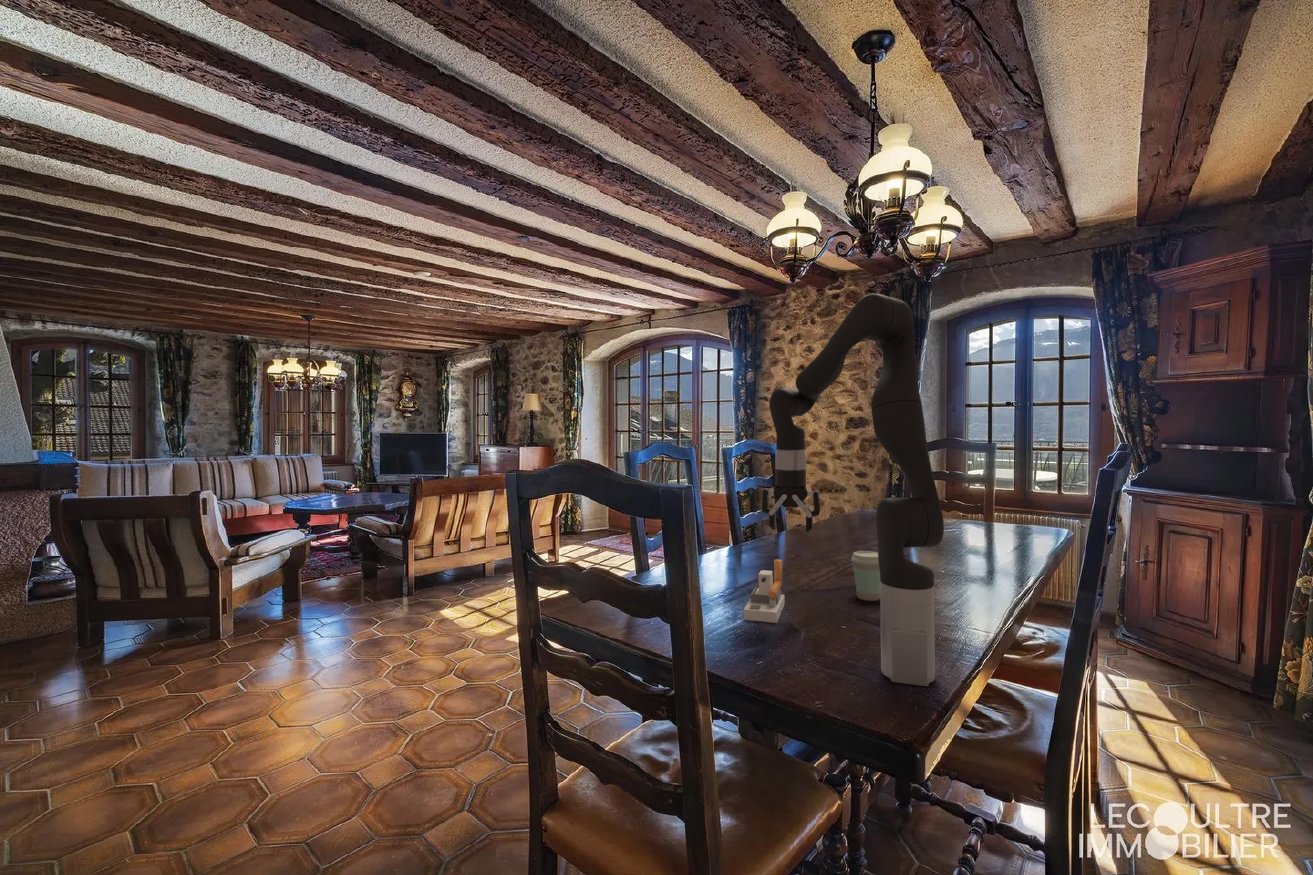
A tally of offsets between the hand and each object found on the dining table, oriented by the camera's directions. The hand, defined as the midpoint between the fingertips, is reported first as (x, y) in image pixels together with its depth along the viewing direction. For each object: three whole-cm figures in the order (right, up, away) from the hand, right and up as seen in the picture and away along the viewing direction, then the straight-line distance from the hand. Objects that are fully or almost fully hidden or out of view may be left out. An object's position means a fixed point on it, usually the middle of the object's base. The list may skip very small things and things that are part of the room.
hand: (790, 530), depth 140 cm
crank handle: (-3, -16, +2) cm, 16 cm away
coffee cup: (+24, -20, +10) cm, 33 cm away
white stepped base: (-7, -21, 0) cm, 22 cm away
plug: (-6, -18, +2) cm, 19 cm away
